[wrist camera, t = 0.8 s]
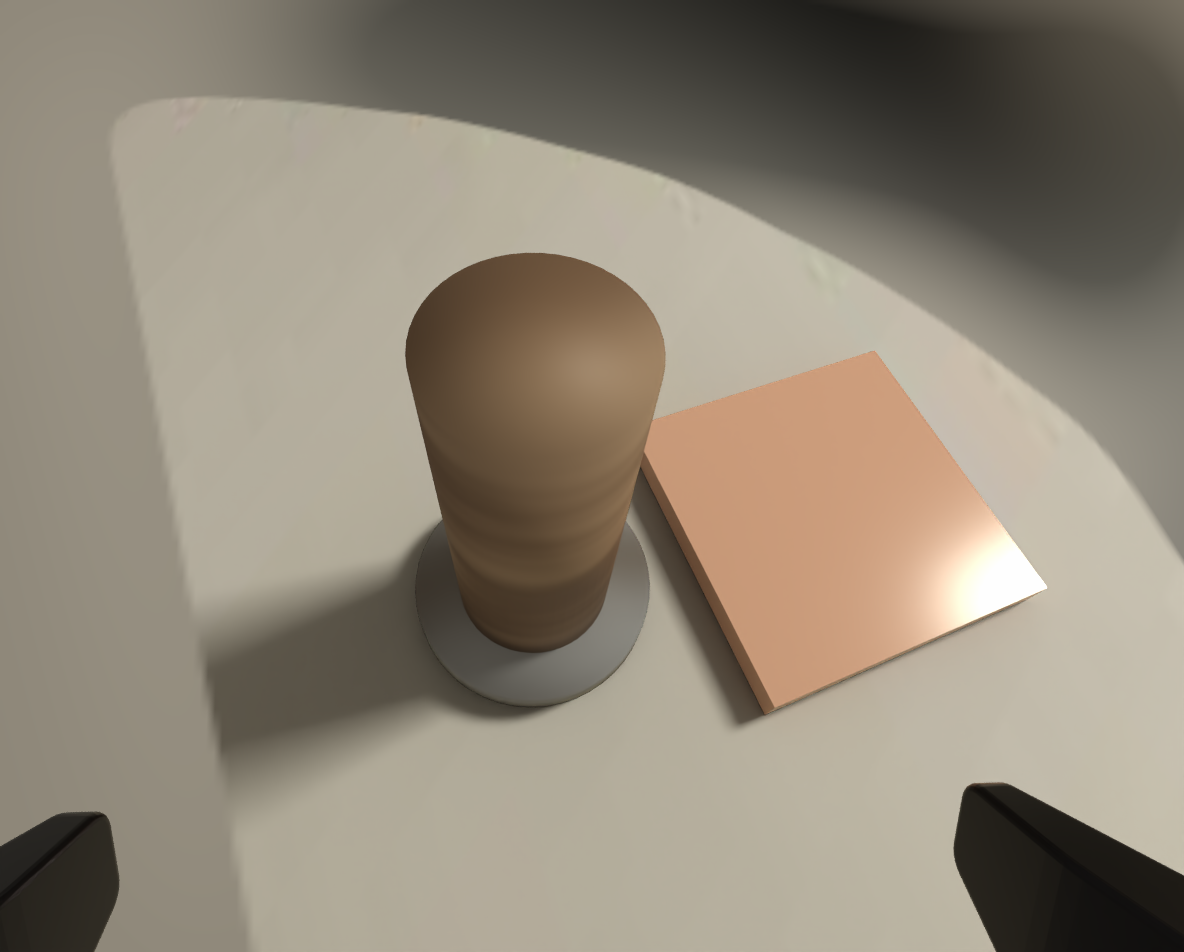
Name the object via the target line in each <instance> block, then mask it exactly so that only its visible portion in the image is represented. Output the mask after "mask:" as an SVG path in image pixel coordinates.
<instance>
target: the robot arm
mask: <svg viewBox="0 0 1184 952" xmlns="http://www.w3.org/2000/svg"><path fill="white" fill-rule="evenodd" d="M954 858H955V862H956V866H957V869H958V871H959V874H960V876H961V878H962V880H963V882H964V884H965V887H966V889H967V891H968V893H969V895H970V897H971V899H972V902H973V904H974V906H975V908H976V910H977V912H978V914H979V916H980V919H981V921H982V923H983V925H984V927H985V929H986V931H987V933H988V936H989V938H990V940H991V942H992V944H993V946H994V948H995V951H996V952H1184V875H1182V874H1180V873H1178V872H1176V871H1174V870H1172V869H1170V868H1168V867H1167V866H1165V865H1163V864H1161V863H1159V862H1157V861H1155V860H1153V859H1151V858H1149V857H1147V856H1146V855H1144V854H1142V853H1140V852H1138V851H1136V850H1134V849H1132V848H1130V847H1128V846H1126V845H1125V844H1123V843H1121V842H1119V841H1117V840H1115V839H1113V838H1111V837H1109V836H1107V835H1105V834H1103V833H1102V832H1100V831H1098V830H1096V829H1094V828H1092V827H1090V826H1088V825H1086V824H1084V823H1082V822H1081V821H1079V820H1077V819H1075V818H1073V817H1071V816H1069V815H1067V814H1065V813H1063V812H1061V811H1060V810H1058V809H1056V808H1054V807H1052V806H1050V805H1048V804H1046V803H1044V802H1042V801H1040V800H1039V799H1037V798H1035V797H1033V796H1031V795H1029V794H1027V793H1025V792H1023V791H1021V790H1019V789H1017V788H1016V787H1014V786H1012V785H1009V784H1006V783H999V782H998V783H974V784H971V785H969V786H967V787H966V789H965V790H964V792H963V796H962V801H961V806H960V812H959V817H958V823H957V829H956V834H955V840H954ZM118 891H119V873H118V867H117V861H116V856H115V849H114V843H113V837H112V831H111V825H110V822H109V819H108V818H107V816H106V815H104V814H103V813H100V812H70V813H61V814H58V815H55V816H53V817H51V818H49V819H48V820H46V821H44V822H42V823H41V824H39V825H37V826H35V827H34V828H32V829H30V830H28V831H27V832H25V833H23V834H21V835H20V836H18V837H16V838H14V839H13V840H11V841H9V842H7V843H6V844H4V845H2V846H0V952H94V951H95V949H96V947H97V945H98V942H99V940H100V938H101V936H102V933H103V931H104V929H105V927H106V924H107V922H108V920H109V918H110V915H111V913H112V911H113V909H114V906H115V903H116V900H117V896H118Z"/></svg>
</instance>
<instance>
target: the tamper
mask: <svg viewBox="0 0 1184 952" xmlns="http://www.w3.org/2000/svg"><path fill="white" fill-rule="evenodd" d="M405 357H406V367H407V372H408V376H409V380H410V384H411V389H412V393H413V397H414V401H415V405H416V410H417V414H418V418H419V422H420V426H421V431H422V435H423V439H424V443H425V447H426V452H427V456H428V460H429V464H430V468H431V472H432V477H433V481H434V485H435V489H436V493H437V498H438V502H439V506H440V510H441V514H442V519H443V520H442V521H441V522H440V523H439V524H438V525H437V527H436V528H435V530H434V531H433V533H432V534H431V536H430V538H429V540H428V542H427V544H426V546H425V548H424V550H423V553H422V556H421V559H420V562H419V565H418V571H417V576H416V590H415V593H416V604H417V610H418V614H419V619H420V622H421V625H422V627H423V630H424V632H425V635H426V637H427V640H428V642H429V644H430V646H431V648H432V650H433V652H434V653H435V655H436V657H437V659H438V660H439V661H440V662H441V664H442V665H443V666H444V668H445V669H446V670H447V671H448V672H449V673H450V674H451V675H452V676H453V677H454V678H455V679H456V680H457V681H459V682H460V683H461V684H463V685H464V686H465V687H467V688H468V689H470V690H471V691H473V692H475V693H477V694H479V695H481V696H483V697H485V698H488V699H490V700H493V701H496V702H499V703H503V704H508V705H512V706H523V707H540V706H549V705H554V704H560V703H563V702H566V701H569V700H572V699H575V698H578V697H580V696H582V695H584V694H586V693H588V692H590V691H591V690H593V689H594V688H596V687H597V686H599V685H600V684H602V683H603V682H604V681H605V680H607V679H608V678H609V677H610V676H611V675H612V674H613V673H614V672H615V671H616V670H617V669H618V668H619V667H620V666H621V664H622V663H623V662H624V661H625V659H626V658H627V656H628V655H629V653H630V651H631V650H632V648H633V646H634V644H635V642H636V640H637V638H638V635H639V633H640V631H641V628H642V626H643V623H644V620H645V617H646V613H647V608H648V602H649V590H650V582H649V573H648V567H647V563H646V559H645V555H644V553H643V550H642V548H641V545H640V543H639V541H638V539H637V537H636V536H635V534H634V532H633V530H632V529H631V528H630V526H629V525H628V524H627V522H626V517H627V514H628V510H629V506H630V502H631V498H632V495H633V491H634V487H635V483H636V479H637V476H638V472H639V468H640V464H641V460H642V457H643V453H644V449H645V445H646V441H647V438H648V434H649V430H650V426H651V422H652V419H653V415H654V411H655V407H656V403H657V400H658V396H659V392H660V388H661V384H662V381H663V376H664V370H665V346H664V339H663V336H662V333H661V330H660V327H659V325H658V323H657V321H656V318H655V316H654V314H653V313H652V311H651V310H650V309H649V307H648V306H647V304H646V303H645V302H644V301H643V299H642V298H641V297H640V296H639V295H638V294H637V293H636V292H635V291H634V290H633V289H632V288H631V287H630V286H628V285H627V284H626V283H625V282H623V281H622V280H620V279H619V278H618V277H616V276H615V275H613V274H611V273H609V272H607V271H606V270H604V269H602V268H600V267H597V266H595V265H593V264H590V263H588V262H585V261H582V260H578V259H575V258H571V257H566V256H561V255H556V254H546V253H520V254H509V255H504V256H499V257H494V258H491V259H487V260H484V261H480V262H478V263H476V264H473V265H471V266H468V267H466V268H464V269H462V270H461V271H459V272H457V273H455V274H453V275H452V276H450V277H449V278H448V279H446V280H445V281H443V282H442V283H441V284H440V285H439V286H438V287H436V288H435V289H434V290H433V291H432V292H431V293H430V294H429V295H428V297H427V298H426V299H425V300H424V301H423V303H422V304H421V306H420V307H419V309H418V311H417V312H416V314H415V316H414V318H413V320H412V323H411V325H410V328H409V332H408V336H407V340H406V351H405Z"/></svg>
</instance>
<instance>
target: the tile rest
mask: <svg viewBox="0 0 1184 952" xmlns="http://www.w3.org/2000/svg"><path fill="white" fill-rule="evenodd" d="M640 467H641V469H642V471H643V473H644V475H645V477H646V479H647V481H648V483H649V485H650V487H651V489H652V491H653V493H654V495H655V497H656V499H657V501H658V503H659V505H660V507H661V509H662V511H663V513H664V515H665V517H666V519H667V521H668V523H669V525H670V527H671V529H672V531H673V533H674V535H675V537H676V539H677V541H678V543H679V545H680V547H681V549H682V551H683V553H684V555H685V557H686V559H687V561H688V563H689V565H690V567H691V569H692V571H693V573H694V575H695V577H696V579H697V581H698V583H699V585H700V587H701V589H702V591H703V593H704V595H705V597H706V599H707V601H708V603H709V605H710V606H711V608H712V610H713V612H714V614H715V616H716V618H717V620H718V622H719V624H720V626H721V628H722V630H723V632H724V634H725V636H726V638H727V640H728V642H729V644H730V646H731V648H732V650H733V652H734V654H735V656H736V658H737V660H738V662H739V664H740V666H741V668H742V670H743V672H744V674H745V676H746V678H747V680H748V682H749V684H750V686H751V688H752V690H753V692H754V694H755V696H756V698H757V700H758V702H759V704H760V706H761V708H762V710H763V712H764V714H765V715H766V714H768V713H771V712H773V711H775V710H778V709H780V708H782V707H784V706H787V705H789V704H791V703H793V702H796V701H798V700H800V699H802V698H805V697H807V696H809V695H812V694H814V693H816V692H818V691H821V690H823V689H825V688H827V687H830V686H832V685H834V684H836V683H839V682H841V681H843V680H846V679H848V678H850V677H852V676H855V675H857V674H859V673H861V672H864V671H866V670H868V669H870V668H873V667H875V666H877V665H880V664H882V663H884V662H886V661H889V660H891V659H893V658H895V657H898V656H900V655H902V654H904V653H907V652H909V651H911V650H914V649H916V648H918V647H920V646H923V645H925V644H927V643H929V642H932V641H934V640H936V639H938V638H941V637H943V636H945V635H948V634H950V633H952V632H954V631H957V630H959V629H961V628H963V627H966V626H968V625H970V624H972V623H975V622H977V621H979V620H981V619H984V618H986V617H988V616H991V615H993V614H995V613H997V612H1000V611H1002V610H1004V609H1006V608H1009V607H1011V606H1013V605H1015V604H1018V603H1020V602H1022V601H1025V600H1027V599H1029V598H1031V597H1033V596H1034V595H1036V594H1038V593H1039V592H1041V591H1043V590H1045V589H1046V588H1047V587H1046V585H1045V584H1044V582H1043V581H1042V580H1041V578H1040V577H1039V576H1038V574H1037V573H1036V571H1035V570H1034V569H1033V567H1032V566H1031V565H1030V563H1029V562H1028V560H1027V559H1026V558H1025V556H1024V555H1023V554H1022V552H1021V551H1020V549H1019V548H1018V547H1017V545H1016V544H1015V543H1014V541H1013V540H1012V538H1011V537H1010V536H1009V534H1008V533H1007V532H1006V530H1005V529H1004V527H1003V526H1002V525H1001V523H1000V522H999V521H998V519H997V518H996V516H995V515H994V514H993V512H992V511H991V510H990V508H989V507H988V505H987V504H986V503H985V501H984V500H983V499H982V497H981V496H980V494H979V493H978V492H977V490H976V489H975V488H974V486H973V485H972V483H971V482H970V481H969V479H968V478H967V477H966V475H965V474H964V472H963V471H962V470H961V468H960V467H959V466H958V464H957V463H956V461H955V460H954V459H953V457H952V456H951V455H950V453H949V452H948V450H947V449H946V448H945V446H944V445H943V444H942V442H941V441H940V439H939V438H938V437H937V435H936V434H935V433H934V431H933V430H932V428H931V427H930V426H929V424H928V423H927V422H926V420H925V419H924V417H923V416H922V415H921V413H920V412H919V411H918V409H917V408H916V406H915V405H914V404H913V402H912V401H911V400H910V398H909V397H908V395H907V394H906V393H905V391H904V390H903V389H902V387H901V386H900V384H899V383H898V382H897V380H896V379H895V378H894V376H893V375H892V373H891V372H890V371H889V369H888V368H887V367H886V365H885V364H884V362H883V361H882V360H881V358H880V357H879V356H878V354H877V353H876V351H872V352H869V353H866V354H862V355H859V356H856V357H853V358H850V359H846V360H843V361H840V362H837V363H834V364H830V365H827V366H824V367H821V368H818V369H815V370H811V371H808V372H805V373H802V374H799V375H795V376H792V377H789V378H786V379H783V380H779V381H776V382H773V383H770V384H767V385H763V386H760V387H757V388H754V389H751V390H748V391H744V392H741V393H738V394H735V395H732V396H728V397H725V398H722V399H719V400H716V401H712V402H709V403H706V404H703V405H700V406H697V407H693V408H690V409H687V410H684V411H681V412H677V413H674V414H671V415H668V416H665V417H661V418H658V419H655V420H652V422H651V426H650V430H649V434H648V438H647V441H646V445H645V449H644V453H643V457H642V460H641V464H640Z"/></svg>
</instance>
